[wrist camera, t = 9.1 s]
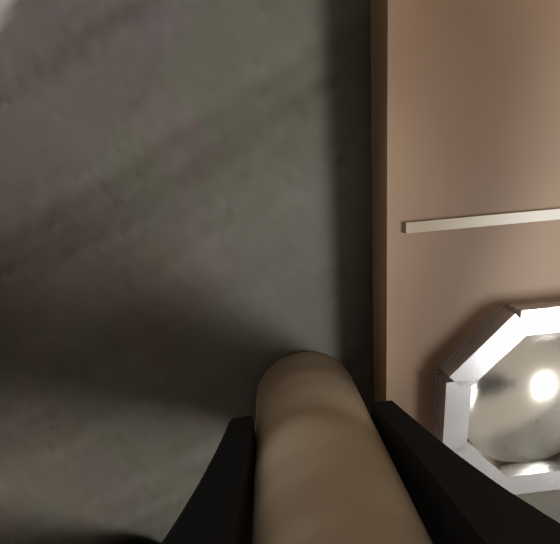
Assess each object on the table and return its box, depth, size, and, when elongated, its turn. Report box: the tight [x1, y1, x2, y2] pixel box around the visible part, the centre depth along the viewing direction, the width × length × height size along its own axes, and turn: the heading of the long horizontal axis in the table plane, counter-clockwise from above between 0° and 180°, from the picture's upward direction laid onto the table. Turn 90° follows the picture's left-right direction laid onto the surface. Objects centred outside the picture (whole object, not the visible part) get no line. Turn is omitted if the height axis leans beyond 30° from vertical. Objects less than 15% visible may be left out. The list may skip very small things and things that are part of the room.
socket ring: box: [433, 298, 560, 495], centre depth 10 cm, size 7×7×1 cm
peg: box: [252, 352, 433, 544], centre depth 8 cm, size 4×4×7 cm
